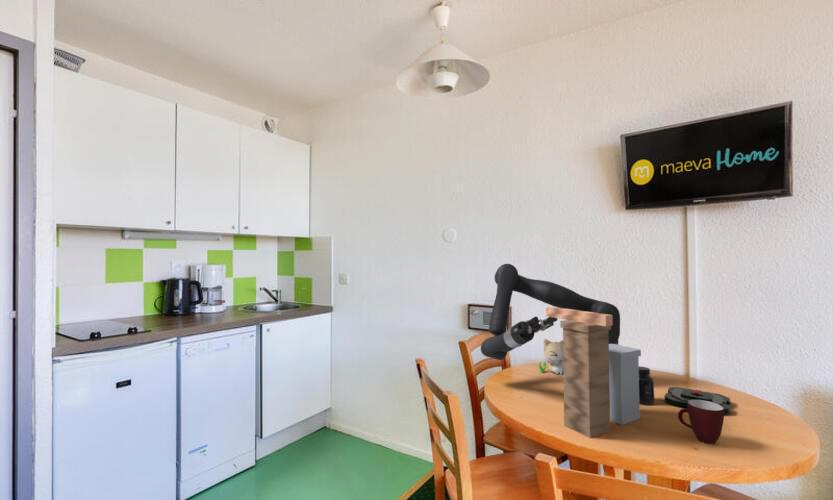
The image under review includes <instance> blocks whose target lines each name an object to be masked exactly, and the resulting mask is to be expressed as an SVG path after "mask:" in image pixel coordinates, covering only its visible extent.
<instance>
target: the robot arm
mask: <svg viewBox="0 0 833 500" xmlns="http://www.w3.org/2000/svg"><path fill="white" fill-rule="evenodd" d="M494 281H495V284H496V285H497V287H496V295H495V299H494V303H493V307H492V311H491V315H490V318H489V319H490V320H489V326H488V332H489V333H490V334H491V335H493V336H490V337H488V338H486V339H484V340H483V341H482V343H481V345H480V352H481V354H482V355H483V356H485V357H486V358H490V359H495V360H499V361H503V360H504V359H505V358H506V357H507V355H508V353H509V352H512V351H513V350H515V349H516V348H519V347H521V346H523V345H525V344H527V343H529V342H530V341H532V340H533V339H534V337H535V334H536V333H539V332H540V331H541V332H544V331H545V330H548V329H549V328H550V327H551V328H552V327H553V326H554V325H555V324H554V323H555V322H556V321H558V319H559V318H553V317H547V318H544V319H539V317H538V316H533V317H532V318H531V319H529V320H526V321H524V320H523V321H522V320H520V321H519V322H517V323H515V324H514V325H512V326H511V327H509V328H508V322H509V315H510V309H511V308H510V305H511V300H512V295H513V292H517V293H520V294H522V295H524V296H528V297H530V298H532V299H535V300H537V301H540V302H542V303H544V304H547V305H550V306H551V307H558V308H565V309H572V310H580V311H587V312H594V313H601V314H609V315H612V317H613V326H611V330H608V336H609V344H616V345H619V341H620V340H619V338H620V335H621V314H620V313H621V312H620V310H619V309H618V307H617V306H616V305H614V304H612V303H609V302H607V301H603V300H602V301H601V300H598V299H594V298H590V297H587V296H584V295H581V294H579V293H578V292H576V291H574V290H572V289H570V288H568V287H565V286H562V285H560V284H558V283H554V282H552V281H548V280H542V279H540V280H539V279H532V278H529V277H525V276H522V275H520V274H519V271H518V269H517V268H516V266H515V265H513V264H512V263H504V264H502V265H500V266H499V267H498V268H497V270H496V272H495V274H494Z"/></svg>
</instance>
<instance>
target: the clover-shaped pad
mask: <svg viewBox="0 0 833 500" xmlns="http://www.w3.org/2000/svg"><path fill="white" fill-rule="evenodd" d="M663 399H664V401H665V402H668V403H670V404H672V405H674V406H675V405H676V406H680V407H686V408H688V401H689V400H704V401H709V402H713V403H716V404H719V405H721V406H722V407H723V408H724V414H729V413H730V411H731V410H730V407H731V398H730V397H728V396H725V395H723V394H721V393H716V392H709V391H703V390H701V389H692V388H688V387H687V388H686V387H683V386H682V387H681V386H673V387H672V386H671V387H668V389H667V392H666V393H665V395H664V398H663Z"/></svg>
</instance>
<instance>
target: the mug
mask: <svg viewBox="0 0 833 500" xmlns="http://www.w3.org/2000/svg"><path fill="white" fill-rule="evenodd" d="M685 413H686V414H688V419H689V423H687V422H686V421H685V420H684V419H683V414H685ZM677 418H678V421H679V422H680V424H682V425H683V426H685V427H687V428H689V429H691V430H692V433H693V434H694V436H695V438H696V439H697V440H698V441H699V442H701V443H703V442H704V443H703V444H706V443H707V444H706V445H715V444H716V443H717V442H718V440H719V439H720V438H721V435H722V430H723V425H724V420H725V413H724V408H723V407H722V406H721V405H719V404H716V403H713V402H709V401H704V400H689V401H688V407H687V408H681V409H680V410H679V411H678V414H677Z"/></svg>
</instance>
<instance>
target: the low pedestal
mask: <svg viewBox="0 0 833 500" xmlns="http://www.w3.org/2000/svg"><path fill="white" fill-rule="evenodd" d="M641 356H642V350H641V349H639V348H636V347H635V348H634V347H630V346H625V345H620V344H618V345H616V344H609V390H610V422H611V421H612V422H614V423H616V424H618V425H621V426H622V425H626V424H629V423H632V422H635V421H637V420H640V418H641V417H640V404H639V357H641Z"/></svg>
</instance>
